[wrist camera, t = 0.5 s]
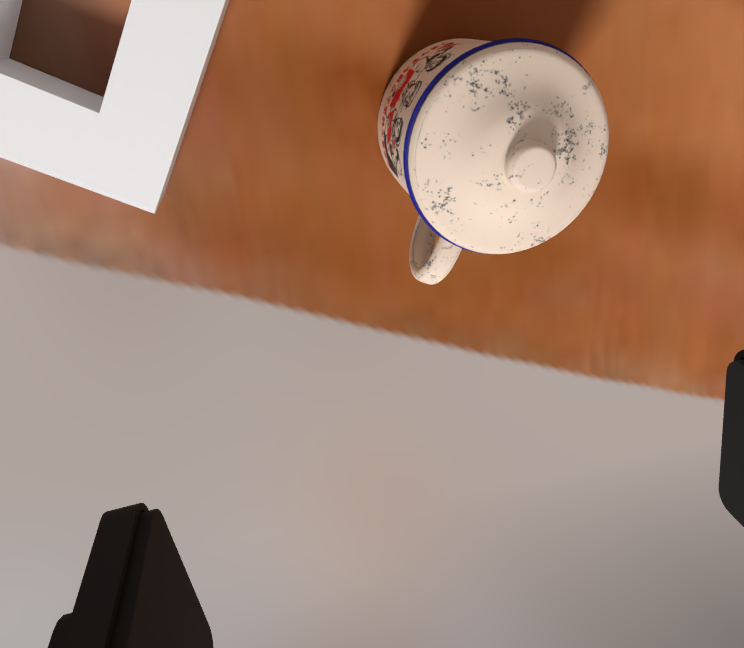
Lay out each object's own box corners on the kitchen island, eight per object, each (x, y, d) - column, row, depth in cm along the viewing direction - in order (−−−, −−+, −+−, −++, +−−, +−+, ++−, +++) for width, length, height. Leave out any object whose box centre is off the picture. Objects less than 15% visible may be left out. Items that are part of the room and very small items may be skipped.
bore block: (-35, -181, 27) (-78, -210, 24) (242, -40, 31) (241, -47, 27) (-86, 98, 31) (-131, 109, 28) (165, 193, 35) (154, 213, 31)
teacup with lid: (412, 2, 33) (485, -3, 22) (562, 74, 35) (689, 99, 25) (327, 221, 37) (355, 302, 26) (467, 271, 40) (543, 362, 29)
